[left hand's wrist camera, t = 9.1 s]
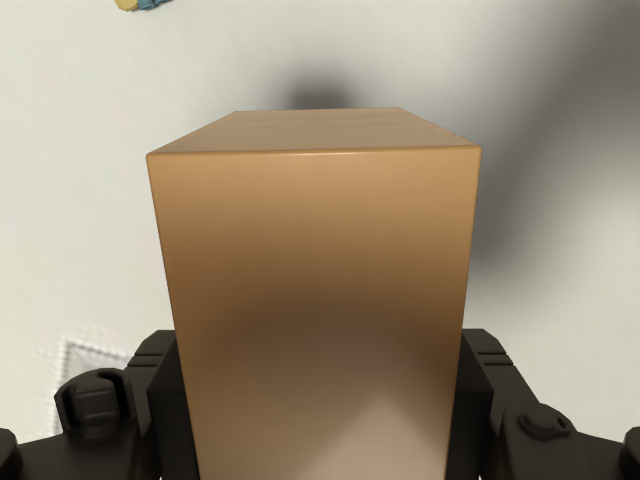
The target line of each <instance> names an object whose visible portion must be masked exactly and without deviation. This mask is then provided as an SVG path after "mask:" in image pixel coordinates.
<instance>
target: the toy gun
mask: <svg viewBox="0 0 640 480" xmlns="http://www.w3.org/2000/svg"><path fill="white" fill-rule="evenodd" d="M114 1H115V2H116V4H117V6H118V7H119V9H122V10H125V11H130V10H133V9H136V8H137V7H139V9H140V10H146V9H150V8H153V7H155V4H154V2H155V3H156V4H159V3H163V2H166V1H168V0H154V1H153V0H114Z"/></svg>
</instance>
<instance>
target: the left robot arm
mask: <svg viewBox="0 0 640 480" xmlns="http://www.w3.org/2000/svg"><path fill="white" fill-rule="evenodd" d="M54 399H55V403H56V407H57V410H58V414H59V418H60V421H61V425H62V429H63V433H62V434H59V435H56V436H53V437H49V438H44V439H40V440H36V441H32V442H27V443H23V444H19V445H18V443H17V440H16V437H15V435H14V434H13V433H12V432H11V431H10V430H9V429H3V428H0V480H160V477H161V478H162V480H201V479H200V474H199V468H198V462H197V456H196V450H195V444H194V438H193V432H192V427H191V421H190V415H189V409H188V403H187V397H186V391H185V385H184V380H183V374H182V368H181V362H180V356H179V350H178V344H177V339H176V333H175V330H157V331H156V332H154V333H153V334H152V335H150V336H149V337H148V338H146V339H145V340H144V341H143V342H142V343H141V345H140V346H139V348H138V349H137V351H136V352H135V354H134V356H133V357H132V358H131V360H130V361H129V363H128V364H127V367H125V369H124V370H120V369H116V368H99V369H96V370H92V371H88V372H85V373H83V374H80V375H78V376H76V377H74V378H72V379H71V380H69V381H68V382H67V383H65V384H64V385H63V386H61V387H60V388H59V390H58V391H57V393H56V394H55V395H54ZM479 475H480V477H481V479H482V480H640V427H633V428H632V429H630V430H629V431H628V432H627V433H626V435H625V438H624V441H623V443H620V442H616V441H612V440H608V439H603V438H599V437H595V436H591V435H587V434H584V433H581V432H578V431H577V430H576V429H575V427H574V426H573V424H572V423H571V421H570V420H569V419H568V418H567V417H565V416H564V415H563V414H562V413H561V412H559V411H557V410H556V409H554V408H552V407H550V406H548V405H546V404H542V403H539V401H538V400H537V398H536V397H535V395H534V394H533V392H532V390H531V389H530V387H529V386H528V384H527V383H526V381H525V380H524V378H523V377H522V375H521V374H520V372H519V371H518V369H517V368H516V366H514V365H513V362H512V360H511V359H510V357H509V356H508V355H506V351H505V350H504V348H503V347H502V345H501V344H500V342H499V341H498V340H497V339H496V338H495V337H493V336H492V335H491V334H489V333H488V332H487V331H485V330H484V329H462V334H461V343H460V352H459V361H458V370H457V379H456V388H455V397H454V406H453V415H452V424H451V433H450V442H449V451H448V460H447V469H446V478H445V480H479Z"/></svg>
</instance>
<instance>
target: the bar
mask: <svg viewBox="0 0 640 480" xmlns="http://www.w3.org/2000/svg"><path fill="white" fill-rule="evenodd" d="M481 154H482V148H481V146H480V145H478V144H475V143H473V142H471V141H469V140H467V139H465V138H463V137H461V136H458V135H456V134H454V133H452V132H450V131H448V130H446V129H443V128H441V127H439V126H437V125H435V124H433V123H431V122H429V121H426V120H424V119H422V118H420V117H418V116H416V115H414V114H412V113H409V112H407V111H405V110H403V109H401V108H399V107H388V108H348V109H308V110H268V111H236V112H234V113H232V114H230V115H227V116H225V117H223V118H221V119H219V120H217V121H215V122H213V123H211V124H209V125H206V126H204V127H202V128H200V129H198V130H196V131H194V132H192V133H190V134H188V135H185V136H183V137H181V138H179V139H177V140H175V141H173V142H171V143H169V144H167V145H165V146H162V147H160V148H158V149H156V150H154V151H152V152H150V153H148V154H146V162H147V168H148V174H149V180H150V186H151V192H152V198H153V204H154V209H155V215H156V221H157V227H158V233H159V239H160V245H161V250H162V256H163V262H164V268H165V274H166V280H167V286H168V292H169V297H170V303H171V309H172V315H173V321H174V327H175V333H176V339H177V344H178V350H179V356H180V362H181V368H182V374H183V380H184V385H185V391H186V397H187V403H188V409H189V415H190V421H191V427H192V432H193V438H194V444H195V450H196V456H197V462H198V468H199V474H200V479H201V480H445V478H446V469H447V460H448V451H449V442H450V433H451V424H452V415H453V406H454V397H455V388H456V379H457V370H458V361H459V352H460V343H461V334H462V325H463V316H464V307H465V298H466V289H467V280H468V271H469V262H470V253H471V244H472V235H473V226H474V217H475V208H476V199H477V190H478V181H479V172H480V163H481Z"/></svg>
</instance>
